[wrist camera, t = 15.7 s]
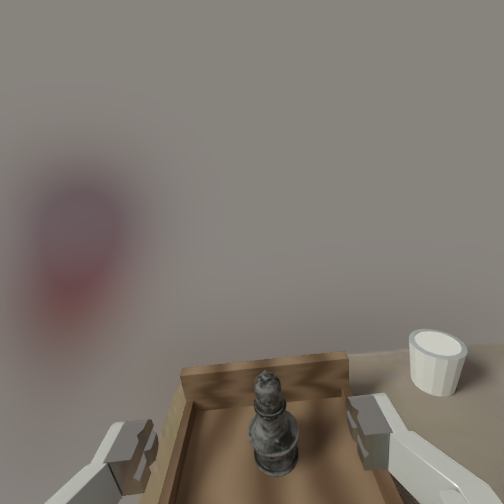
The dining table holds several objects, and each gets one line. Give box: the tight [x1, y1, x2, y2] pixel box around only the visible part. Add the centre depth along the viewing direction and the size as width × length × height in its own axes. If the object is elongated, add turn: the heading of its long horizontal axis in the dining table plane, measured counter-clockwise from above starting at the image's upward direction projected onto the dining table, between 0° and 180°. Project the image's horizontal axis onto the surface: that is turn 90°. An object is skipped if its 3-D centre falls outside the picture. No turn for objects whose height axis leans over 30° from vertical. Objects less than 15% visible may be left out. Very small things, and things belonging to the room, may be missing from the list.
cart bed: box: [158, 351, 404, 504], centre depth 27 cm, size 23×21×8 cm
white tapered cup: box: [409, 329, 468, 397], centre depth 38 cm, size 7×7×7 cm
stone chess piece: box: [248, 370, 299, 477], centre depth 29 cm, size 6×6×12 cm
